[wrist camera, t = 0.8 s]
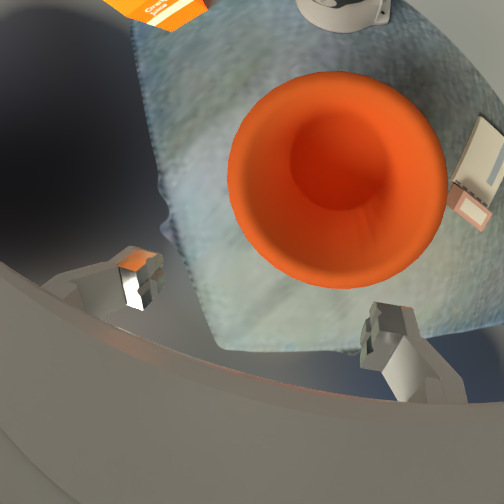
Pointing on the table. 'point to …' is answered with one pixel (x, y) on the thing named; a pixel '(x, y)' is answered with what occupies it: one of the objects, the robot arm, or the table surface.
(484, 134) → the cream flat block
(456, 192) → the pink box
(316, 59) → the table surface
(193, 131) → the table surface
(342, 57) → the table surface
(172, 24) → the orange juice
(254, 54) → the table surface
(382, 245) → the flowerpot
